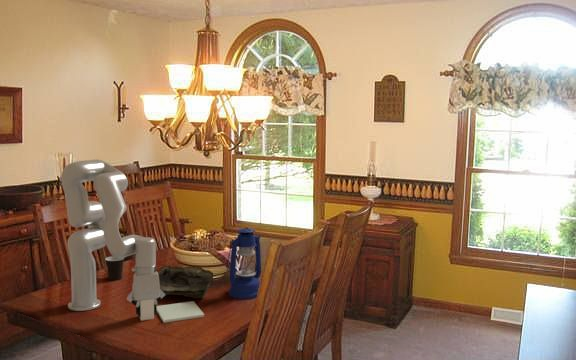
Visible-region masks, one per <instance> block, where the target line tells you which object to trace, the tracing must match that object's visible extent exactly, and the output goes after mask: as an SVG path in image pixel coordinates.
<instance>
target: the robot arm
mask: <svg viewBox="0 0 576 360" xmlns="http://www.w3.org/2000/svg"><path fill="white" fill-rule="evenodd" d="M60 178H61V179H60V181H61V184H62V188H63V193H64V197H65V206H66V211H67V213H66V214H67V219H68V222H69V225H70V226H71V227H74V228H81V227H82V228H83V227H87V228H84V229H80V230H77V231H75V232H73V233H72V234H71V235H70V236H69V237H68V239H67V241H66V242H67V243H66V244H67V249H68V253H69V254H68V255H69V260H70V278H71V280H70V281H71V283H70V284H71V301H69V302H68V303H67V308H68V309H69V310H70V311H75V312H83V311H84V312H85V311H90V310H93V309H96V308H99V307H100V306H101V302H102V301H101V300H100V299H98V298H97V264H96V260H95V258H94V254H92V252H94V251H97V250H100V249H104V247H105V246H106V247H107V249H108V251H109V253H110V254H111V256H114V257H115V258H124V259H125V258H126V257H129V256H133V255H135V265H134V267H132V268H131V272H134V273H133V279H132V289H131V292H130V293H128V295H127V297H126V301H128V302H130V303H131V304H133V306H135V315H137V316H138V318H139V317H140V300H148V299H154V316H156V313H157V306H158V303H160V301H161V300H162V299H163V298H164V297H166V296H165V293H164V292H163V291H162V290H161V289H160V282H159V275H158V271H157V263H156V262H157V258H156V257H157V253H156V252H157V251H156V250H157V249H156V246H157V245H156V244H157V243H156V240H155V239H154V238H153V237H148V236H147V237H146V236H145V237H144V236H142V235H138V234H130V235H126V236H123V237H122V235H121V233H120V231H119V223H120V219H121V218H122V216H123V215H124V213H125V212H126V211H127V208H128V207H127V204H126V202H125V200H124V197H123V195H122V194H123V193H122V192H123V191H125V190H127V188H128V185H129V181H128V178H127V176H126V175H125V173H123V172H122V171H121V170H119V169H118V168H117V167H114V166H113V165H111V164H109V163H108V162H106V161H104V160H101V159H88V160H77V161H73V162H70V163H69V164H66V165H65V167H64V168H63V170H62V171H61V176H60ZM86 182H93V187H94V190H95V192H96V195H97V197H98V200H99V201H96V200H90V201H89V194H88V191H87V189H86V187H85V186H84V185H83V183H86Z"/></svg>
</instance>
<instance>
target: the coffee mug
mask: <svg viewBox="0 0 576 360" xmlns="http://www.w3.org/2000/svg"><path fill="white" fill-rule="evenodd" d="M124 263H125V257H124V258H115V257H114V256H113V255H111V256H107V257H106V258H105V266H106V267H105V268H106V274H107V280H108V281H113V282H116V281H121V280H122V279H123V275H124V274H123V271H124Z"/></svg>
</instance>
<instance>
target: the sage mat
mask: <svg viewBox="0 0 576 360" xmlns="http://www.w3.org/2000/svg"><path fill="white" fill-rule="evenodd" d="M156 313H157V314H158V316H159V318H160V320H161V321H162V322H163V323H164V324H165V323H171V322H177V321H184V320H185V321H186V320H191V319H199V318H205V313H204V312H203V311H202V310H201V309H200V307H199V306H198V305H197V304H196V302H195V301H193V300H192V301H185V302H178V303H171V304H169V303H168V304H163V305H157V312H156Z"/></svg>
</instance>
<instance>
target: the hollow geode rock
mask: <svg viewBox="0 0 576 360" xmlns="http://www.w3.org/2000/svg"><path fill="white" fill-rule="evenodd" d="M157 272H158V275H159V282H160V289H161V290H162V291H163V292H164V293H165V296H164V297H166V296H168V295H169V296H170V295H176V296H184V297H186V298H192V299H193V298H194V299H200V300H201V299H204V298H205V296H206V294H207V292H208V290H209V288H210V285H211V283H212V282H213V283H214V273H213V272H212V271H210V270H209V269H208V270H207V269H204V268H202V267H199V266H185V267H182V266H181V267H180V266H170V265H165V266H162V267H160V268H159V270H158V271H157Z"/></svg>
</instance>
